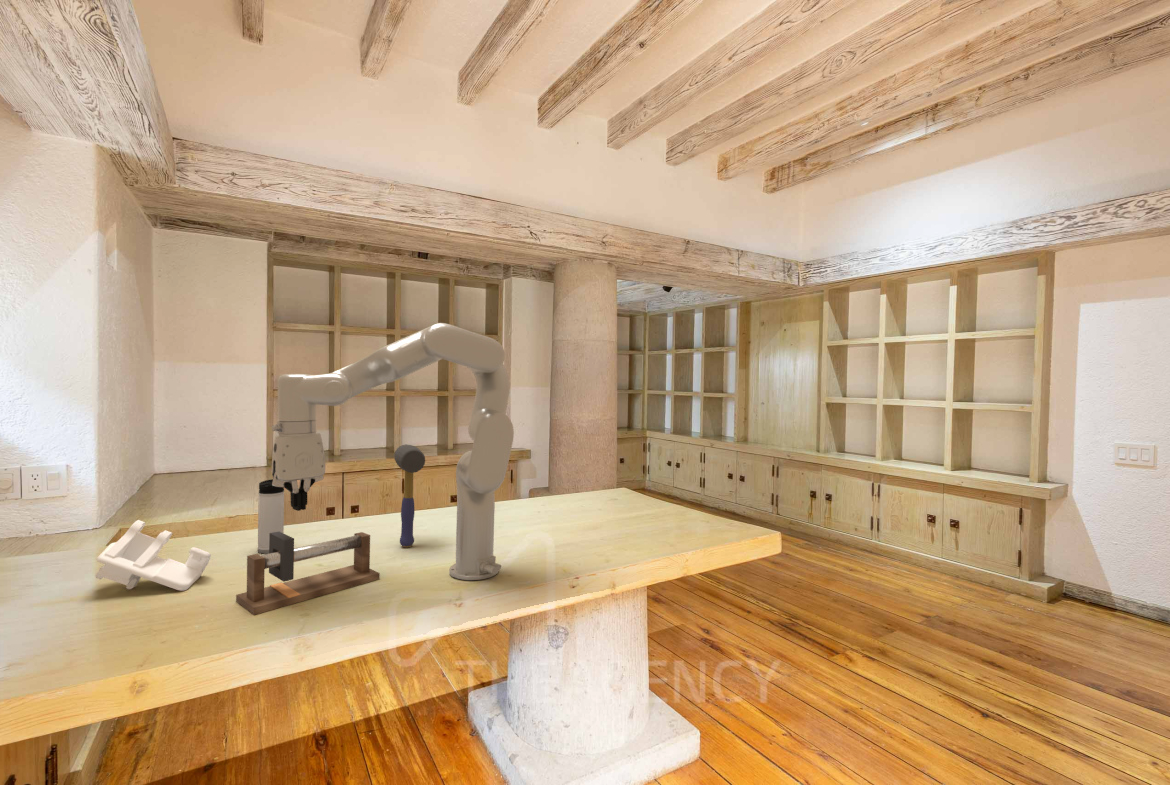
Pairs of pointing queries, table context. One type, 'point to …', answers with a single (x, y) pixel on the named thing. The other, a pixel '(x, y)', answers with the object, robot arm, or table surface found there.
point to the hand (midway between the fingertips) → (299, 509)
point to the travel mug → (269, 513)
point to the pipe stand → (310, 586)
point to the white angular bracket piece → (149, 561)
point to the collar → (282, 555)
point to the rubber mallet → (408, 488)
